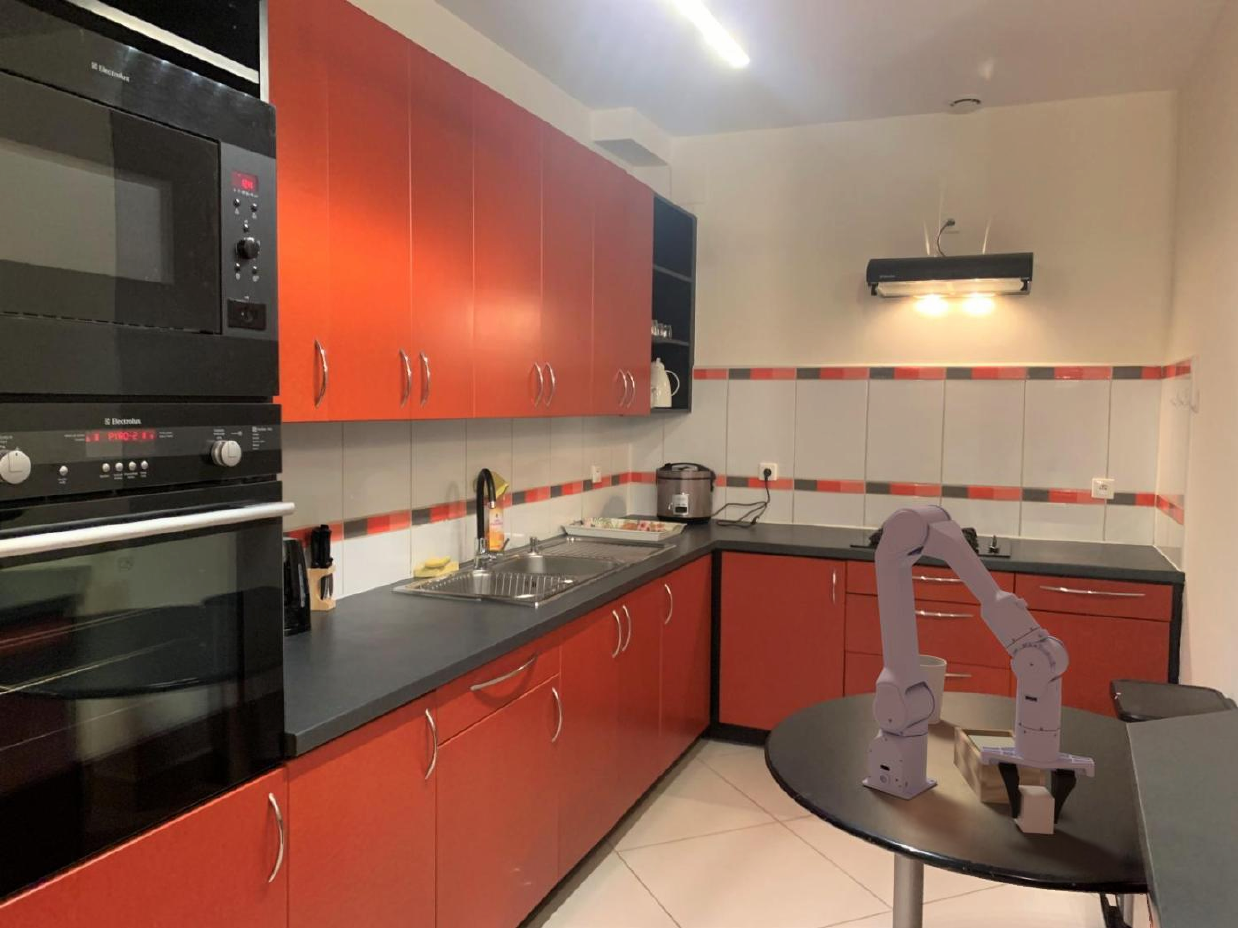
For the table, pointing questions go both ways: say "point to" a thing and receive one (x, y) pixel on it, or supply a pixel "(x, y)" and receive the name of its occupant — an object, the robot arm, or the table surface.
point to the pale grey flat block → (991, 741)
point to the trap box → (988, 767)
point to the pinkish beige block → (1035, 809)
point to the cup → (935, 681)
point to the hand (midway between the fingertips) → (1033, 818)
